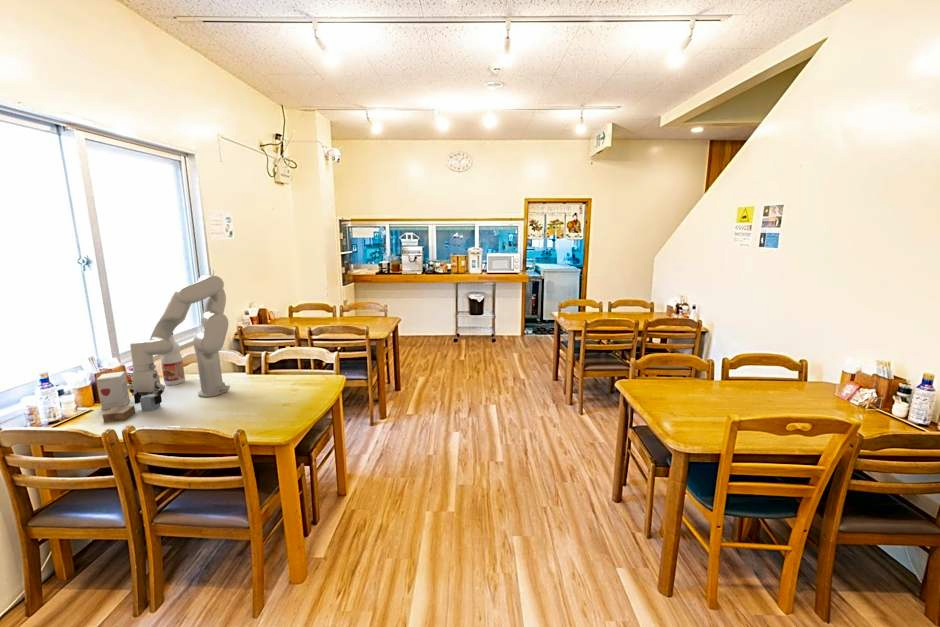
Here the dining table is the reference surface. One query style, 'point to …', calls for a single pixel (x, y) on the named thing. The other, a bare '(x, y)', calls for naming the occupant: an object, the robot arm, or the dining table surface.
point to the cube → (148, 403)
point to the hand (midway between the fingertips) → (148, 403)
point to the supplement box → (113, 390)
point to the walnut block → (119, 414)
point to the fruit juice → (173, 365)
